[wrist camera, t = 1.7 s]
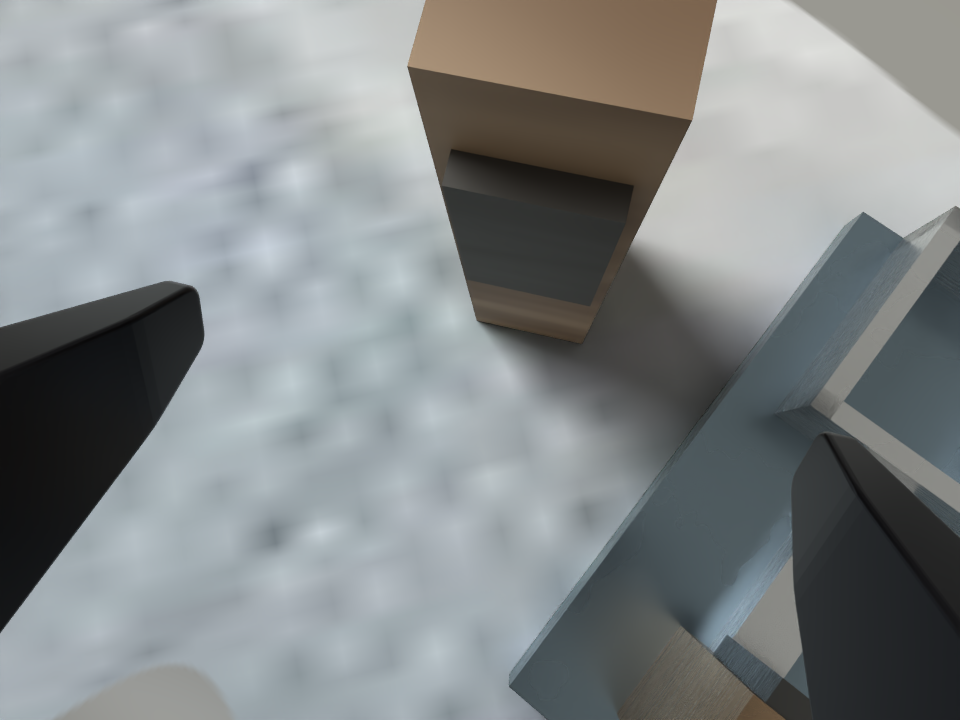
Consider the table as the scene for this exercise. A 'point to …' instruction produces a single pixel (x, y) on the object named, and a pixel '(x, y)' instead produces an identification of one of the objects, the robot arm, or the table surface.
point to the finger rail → (764, 494)
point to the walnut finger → (553, 140)
